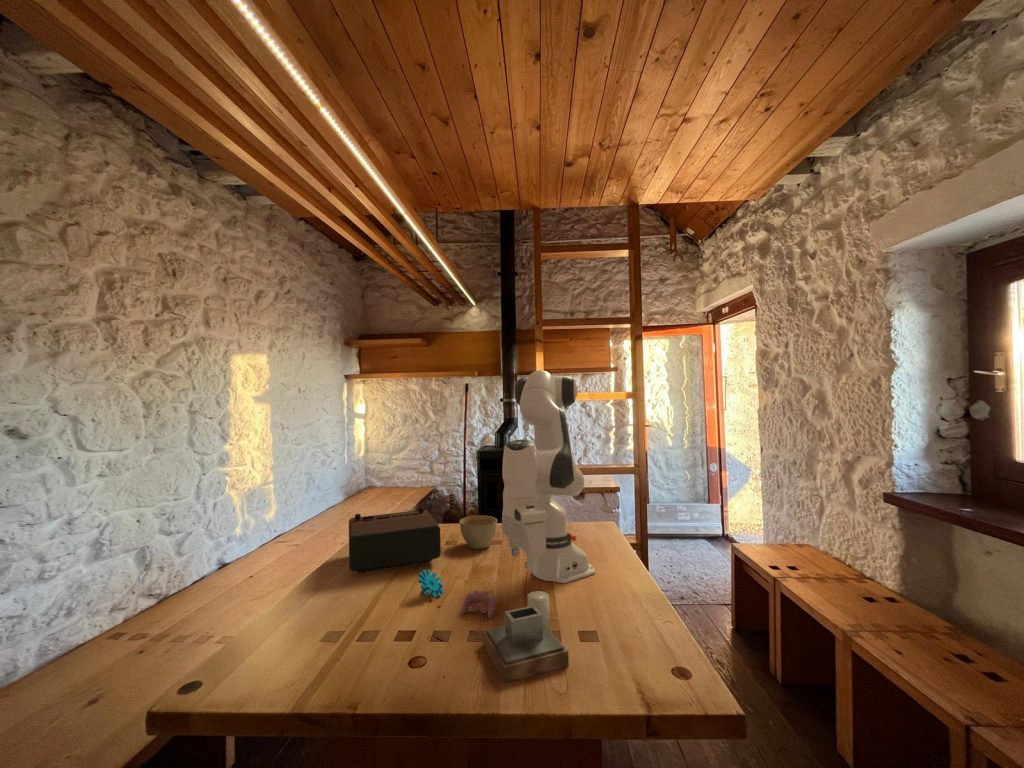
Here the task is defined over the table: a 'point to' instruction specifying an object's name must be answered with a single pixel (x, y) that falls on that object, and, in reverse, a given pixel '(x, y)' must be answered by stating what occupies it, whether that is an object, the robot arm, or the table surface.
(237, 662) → the table surface
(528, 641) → the housing
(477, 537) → the planter bowl
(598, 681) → the table surface
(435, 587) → the gear
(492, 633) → the plinth
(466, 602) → the video game controller
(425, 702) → the table surface
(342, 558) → the table surface
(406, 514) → the radio receiver
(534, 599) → the pale grey capsule
